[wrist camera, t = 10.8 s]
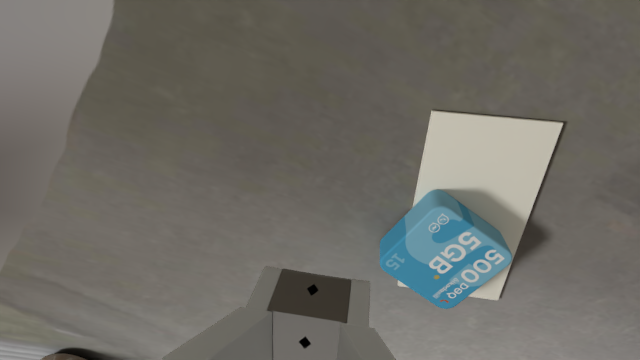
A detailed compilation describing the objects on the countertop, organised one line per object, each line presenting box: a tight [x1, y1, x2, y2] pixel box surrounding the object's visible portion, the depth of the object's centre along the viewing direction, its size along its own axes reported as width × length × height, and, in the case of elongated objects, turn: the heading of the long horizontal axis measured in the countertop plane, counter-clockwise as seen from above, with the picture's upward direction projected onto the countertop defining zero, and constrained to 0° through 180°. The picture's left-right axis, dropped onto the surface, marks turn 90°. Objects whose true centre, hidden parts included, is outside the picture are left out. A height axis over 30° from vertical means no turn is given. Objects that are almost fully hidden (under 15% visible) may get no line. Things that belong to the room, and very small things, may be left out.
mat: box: [398, 110, 563, 300], centre depth 46 cm, size 14×26×1 cm, turn 177°
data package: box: [380, 190, 512, 309], centre depth 46 cm, size 12×4×12 cm
